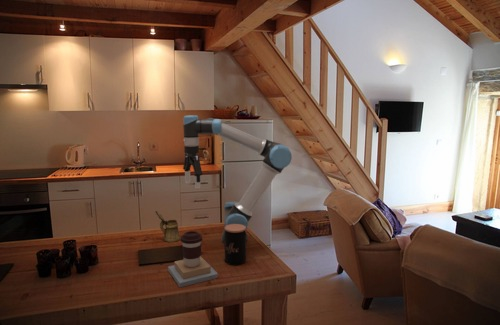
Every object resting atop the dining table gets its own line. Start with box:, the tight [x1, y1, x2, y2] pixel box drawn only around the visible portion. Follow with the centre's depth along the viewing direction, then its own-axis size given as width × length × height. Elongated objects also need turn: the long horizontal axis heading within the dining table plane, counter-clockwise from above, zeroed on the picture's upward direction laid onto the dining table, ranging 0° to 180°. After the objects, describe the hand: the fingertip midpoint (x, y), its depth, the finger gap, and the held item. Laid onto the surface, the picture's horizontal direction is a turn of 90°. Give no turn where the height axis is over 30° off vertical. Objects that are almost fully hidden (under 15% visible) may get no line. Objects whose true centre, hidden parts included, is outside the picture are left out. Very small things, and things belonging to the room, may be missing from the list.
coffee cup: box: [180, 230, 203, 267], centre depth 161 cm, size 10×10×15 cm
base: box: [167, 256, 219, 288], centre depth 162 cm, size 18×18×5 cm
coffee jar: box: [224, 224, 247, 266], centre depth 176 cm, size 11×11×18 cm
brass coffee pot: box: [155, 210, 181, 243], centre depth 203 cm, size 9×14×18 cm, turn 103°
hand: (192, 185), depth 183 cm, fingers open, 13 cm apart
